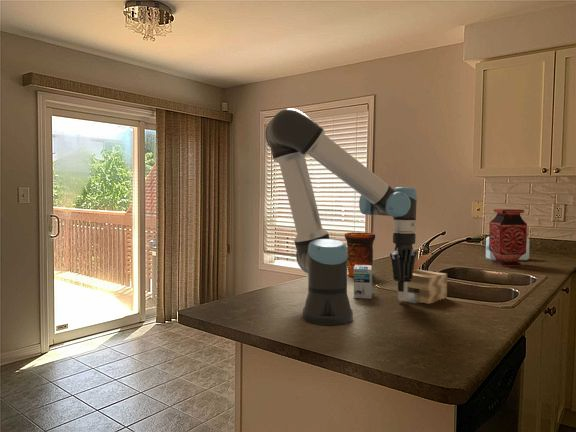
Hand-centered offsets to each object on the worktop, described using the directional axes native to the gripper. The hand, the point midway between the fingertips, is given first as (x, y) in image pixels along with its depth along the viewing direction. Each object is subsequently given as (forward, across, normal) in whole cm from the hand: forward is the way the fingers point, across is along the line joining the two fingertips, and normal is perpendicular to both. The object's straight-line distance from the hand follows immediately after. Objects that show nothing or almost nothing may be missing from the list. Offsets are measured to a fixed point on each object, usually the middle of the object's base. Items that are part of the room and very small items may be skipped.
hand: (402, 300), depth 148 cm
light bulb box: (+1, -1, +17) cm, 17 cm away
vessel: (+1, +30, +44) cm, 54 cm away
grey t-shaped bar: (+1, +11, 0) cm, 11 cm away
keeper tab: (-11, +14, +2) cm, 18 cm away
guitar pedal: (0, +135, +20) cm, 137 cm away
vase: (0, +113, +11) cm, 114 cm away
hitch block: (+1, +12, 0) cm, 12 cm away
